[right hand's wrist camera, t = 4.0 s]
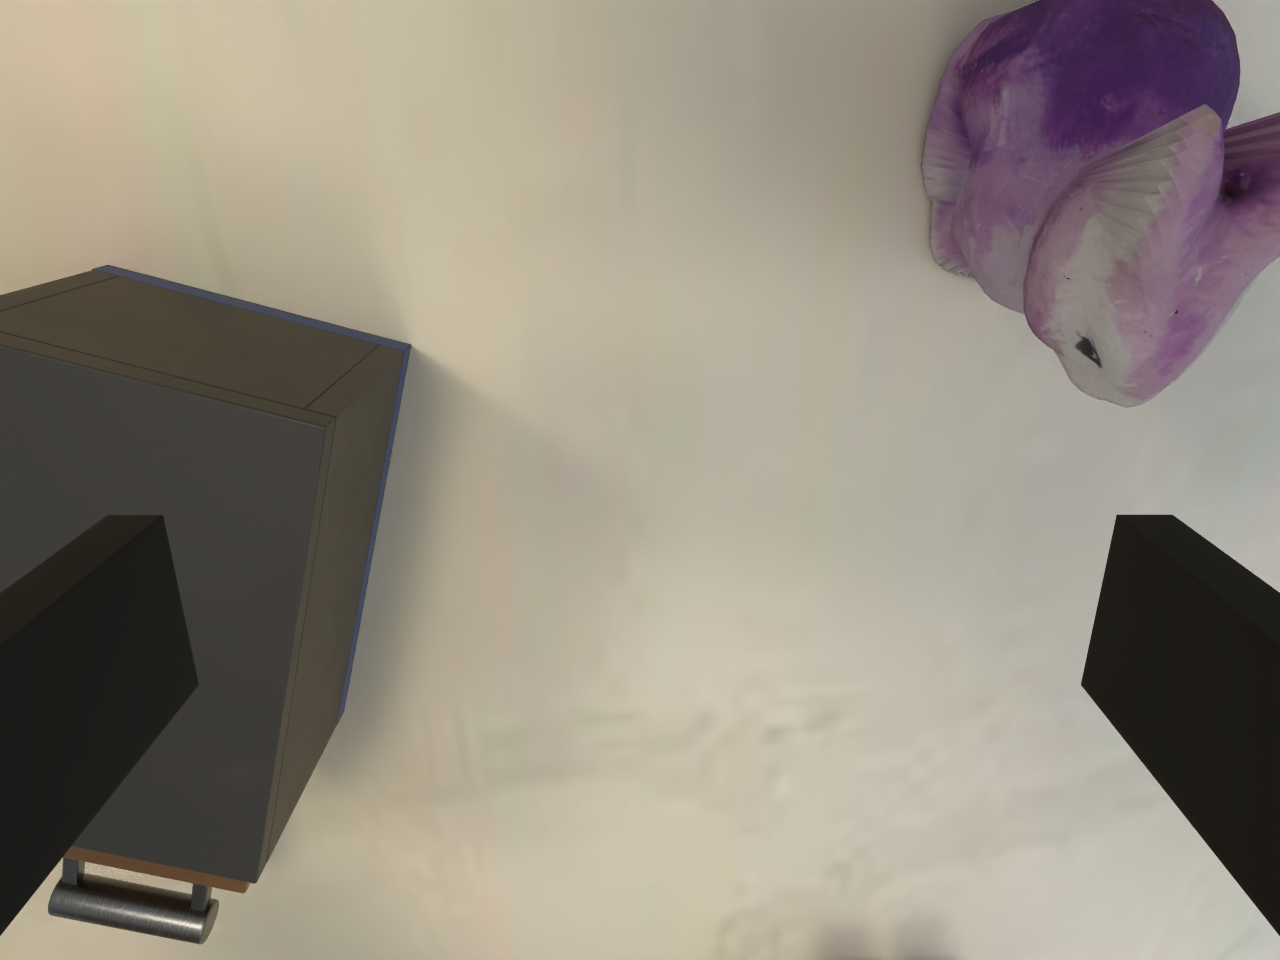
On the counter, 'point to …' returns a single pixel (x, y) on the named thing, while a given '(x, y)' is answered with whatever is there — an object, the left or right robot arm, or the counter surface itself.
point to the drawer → (138, 897)
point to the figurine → (1105, 182)
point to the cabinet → (207, 526)
